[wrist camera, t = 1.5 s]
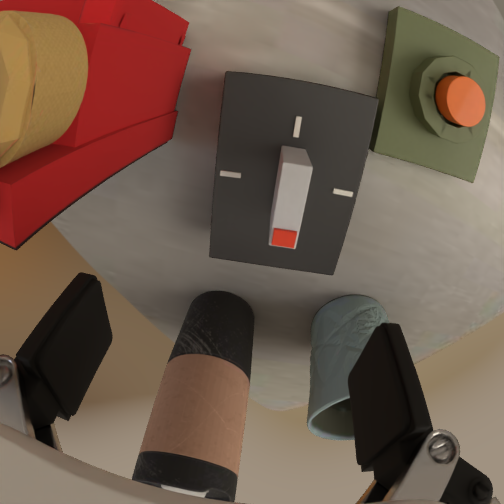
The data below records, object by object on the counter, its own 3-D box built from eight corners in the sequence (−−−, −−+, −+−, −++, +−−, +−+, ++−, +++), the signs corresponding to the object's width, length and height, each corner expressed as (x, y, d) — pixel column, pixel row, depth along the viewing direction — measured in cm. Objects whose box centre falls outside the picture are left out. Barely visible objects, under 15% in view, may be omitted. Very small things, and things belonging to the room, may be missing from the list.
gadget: (234, 73, 20) (225, 70, 16) (363, 96, 20) (380, 99, 16) (217, 233, 27) (208, 258, 24) (327, 250, 27) (333, 277, 24)
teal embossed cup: (395, 284, 28) (433, 378, 18) (386, 347, 34) (407, 431, 23) (299, 296, 30) (303, 399, 20) (306, 358, 35) (309, 446, 25)
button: (438, 68, 15) (451, 68, 13) (476, 86, 15) (489, 88, 13) (430, 113, 17) (442, 117, 15) (467, 129, 17) (480, 134, 15)
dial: (281, 145, 19) (282, 162, 15) (306, 149, 19) (313, 168, 15) (270, 213, 21) (268, 247, 17) (292, 217, 21) (295, 251, 17)
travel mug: (187, 333, 35) (140, 493, 17) (187, 282, 31) (118, 470, 13) (252, 344, 34) (231, 512, 17) (261, 294, 30) (240, 498, 13)
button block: (388, 11, 16) (407, 0, 12) (485, 56, 16) (512, 57, 12) (365, 146, 22) (380, 158, 19) (461, 175, 22) (484, 191, 18)
